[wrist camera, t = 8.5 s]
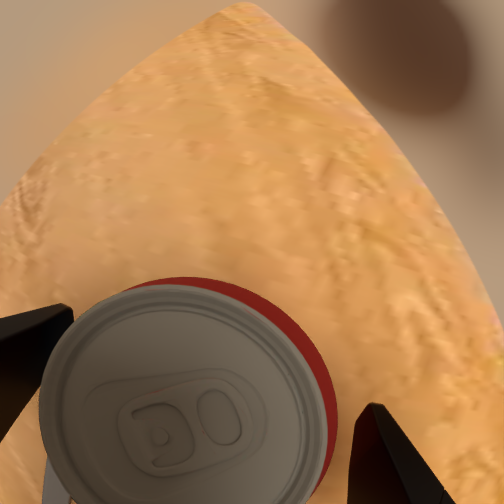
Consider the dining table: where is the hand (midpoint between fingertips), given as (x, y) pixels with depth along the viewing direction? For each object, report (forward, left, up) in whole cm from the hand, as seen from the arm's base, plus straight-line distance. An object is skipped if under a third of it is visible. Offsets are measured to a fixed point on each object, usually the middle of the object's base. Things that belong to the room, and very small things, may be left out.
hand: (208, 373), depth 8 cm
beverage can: (-1, 0, -9) cm, 9 cm away
